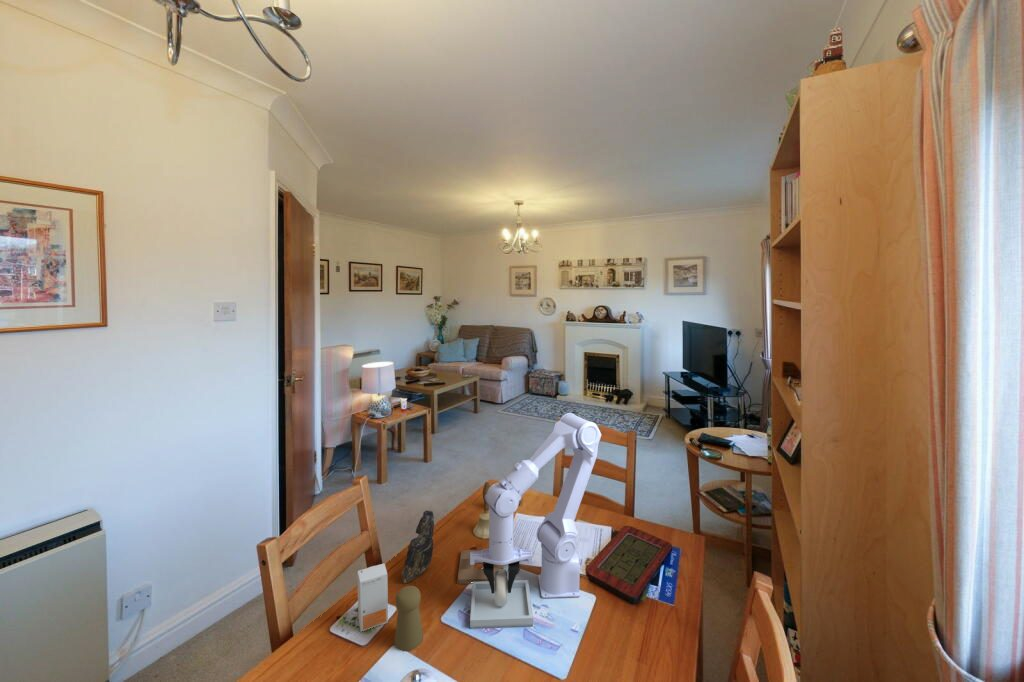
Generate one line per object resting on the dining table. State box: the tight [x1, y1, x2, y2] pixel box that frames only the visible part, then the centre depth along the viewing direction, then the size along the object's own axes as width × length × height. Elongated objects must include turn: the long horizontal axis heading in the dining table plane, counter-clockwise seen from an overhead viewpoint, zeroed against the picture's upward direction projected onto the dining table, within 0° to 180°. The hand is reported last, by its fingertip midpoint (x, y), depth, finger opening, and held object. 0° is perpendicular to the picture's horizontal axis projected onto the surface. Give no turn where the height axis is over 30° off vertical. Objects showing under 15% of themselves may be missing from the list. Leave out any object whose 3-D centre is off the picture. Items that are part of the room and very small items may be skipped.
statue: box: [401, 510, 435, 584], centre depth 104 cm, size 6×12×15 cm, turn 153°
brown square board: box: [457, 549, 505, 585], centre depth 106 cm, size 12×12×1 cm
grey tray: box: [469, 579, 534, 630], centre depth 92 cm, size 14×12×2 cm
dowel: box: [495, 568, 508, 606], centre depth 92 cm, size 3×3×7 cm
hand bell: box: [472, 481, 491, 540], centre depth 122 cm, size 8×8×16 cm
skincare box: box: [356, 562, 389, 633], centre depth 87 cm, size 6×4×12 cm
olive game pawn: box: [394, 585, 424, 652], centre depth 83 cm, size 6×6×11 cm
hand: (501, 590), depth 92 cm, fingers open, 3 cm apart
